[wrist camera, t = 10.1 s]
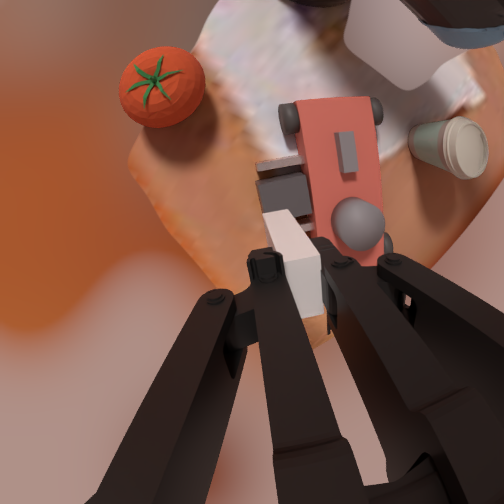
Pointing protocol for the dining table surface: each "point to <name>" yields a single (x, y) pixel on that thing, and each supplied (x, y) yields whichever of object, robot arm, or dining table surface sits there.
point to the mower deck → (328, 168)
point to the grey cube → (285, 194)
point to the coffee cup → (451, 146)
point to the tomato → (162, 87)
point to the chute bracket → (283, 162)
